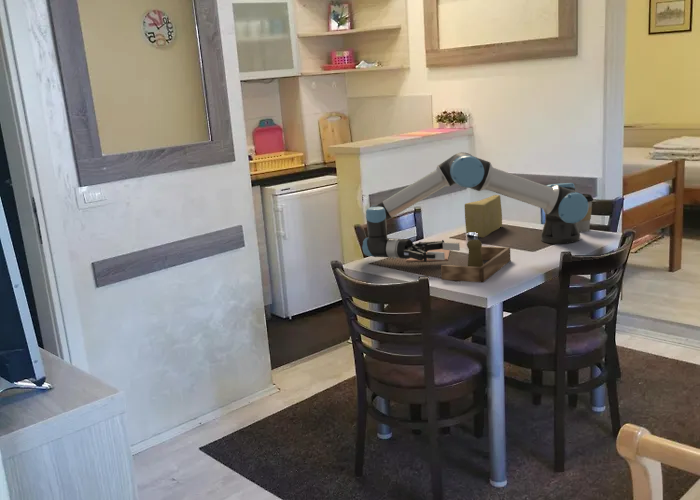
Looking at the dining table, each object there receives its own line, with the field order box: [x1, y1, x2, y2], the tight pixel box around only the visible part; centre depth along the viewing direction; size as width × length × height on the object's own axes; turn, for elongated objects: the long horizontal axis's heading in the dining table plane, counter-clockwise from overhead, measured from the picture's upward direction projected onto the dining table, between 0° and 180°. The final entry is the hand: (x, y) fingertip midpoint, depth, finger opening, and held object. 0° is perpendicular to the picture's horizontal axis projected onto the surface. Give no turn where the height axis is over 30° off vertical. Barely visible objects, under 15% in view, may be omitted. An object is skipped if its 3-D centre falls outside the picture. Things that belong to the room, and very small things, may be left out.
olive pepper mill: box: [466, 239, 484, 267], centre depth 246 cm, size 6×6×11 cm
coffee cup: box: [576, 193, 594, 233], centre depth 289 cm, size 9×9×15 cm
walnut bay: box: [440, 245, 511, 283], centre depth 247 cm, size 15×28×5 cm, turn 148°
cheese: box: [464, 194, 503, 239], centre depth 302 cm, size 22×10×15 cm, turn 138°
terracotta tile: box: [405, 249, 451, 263], centre depth 273 cm, size 16×16×1 cm
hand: (451, 251), depth 251 cm, fingers open, 13 cm apart
